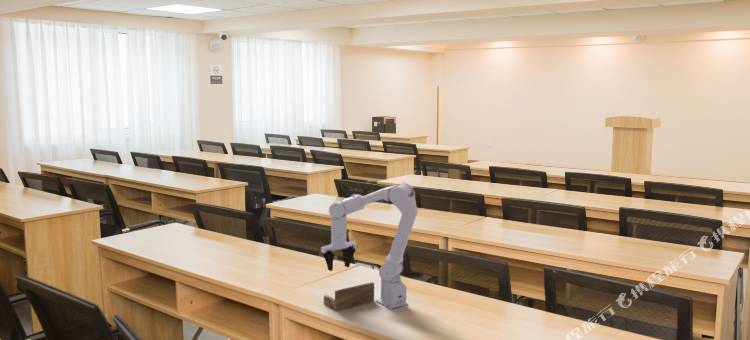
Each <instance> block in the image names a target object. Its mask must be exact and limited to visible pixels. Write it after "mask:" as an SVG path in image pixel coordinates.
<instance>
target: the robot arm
mask: <svg viewBox="0 0 750 340" xmlns="http://www.w3.org/2000/svg"><path fill="white" fill-rule="evenodd" d="M380 200H384V201H386V202H391V203H392V205H394V206H395V207H396V208H397V209H398V210H399V211H400V213H401V217H400V219H399V222H398V226H397V229H396V232H395V234H394V238H393V241H392V244H391V247H390V249H389V253H388V255H387V257H386V258H385V260H384V263H383V264H382V266H381V267H379V270H378V274H379V277H380V298H378V299H375V302H376V303H379V304H381V305H382V306H385V307H386V308H389V309H391V310H392V309H397V308H398V307H403V306H406V305H409V302H407V286H406V284H405V283H403V281H402V277H401V273H402V272H403V270H404V265H403V261H404V254H405V250H406V247H407V245H408V241H409V238H410V236H411V233H412V229H413V226H414V225H415V221H416V217H417V214H418V206H417V202H416V192H415V191H414V189H413V188H412V186H411V185H410V184H408V183H405V182H403V183H400V184H399V185H398V184H395V185H391V186H387V187H384V188H381V189H379V190H376V191H373V192H371V193H368V194H366V195H361V194H359V193H357V194H356V193H353V194H351V195H350V196H349V197H347V198H341V199H340V200H338V201H335V202H333V203H332V204H331V205H329V208H328V213H329V215H330V216H331V217H330V218H331V221H330V222H331V224H330V227H331V229H330V232H331V233H330V238H331V239H330V244H328V245H324V246H321V247H320V252H321V254H322V256H323V258H324V260H325V264H326V266H327V271H330V272H333V271H334V270H333V268H334V267H333V266H334V258H335V254H334V253H333V252H335V251H340V250H343V255H344V256H343V257H344V258H343V259H344V262H343V263H344V267H346V268H349V267H350V266H351V263H352V258H353V257H354V254H355V252H356V248H357V242H356V241H355V240H354V241H347V236H348V235H347V229H348V227H347V224H348V223H347V222H348V221H347V215H350V214H353V213H357V212H359V211H362V210H364V209H365V206H366V205H368V204H371V203H374V202H378V201H380Z"/></svg>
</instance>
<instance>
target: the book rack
mask: <svg viewBox="0 0 750 340" xmlns="http://www.w3.org/2000/svg"><path fill="white" fill-rule="evenodd" d="M374 301H375V282H373V281H371V282H367V283H364V284H359V285H354V286H350V287H345V288H342V289H337V290H334V298H333V297H331V296H329V295H327V294H324V295H323V304H324V305H326V306H328V307H329V308H331V309H333V310H335V312H336V311H341V310H344V309H349V308H353V307H357V306H361V305H364V304H368V303H373V302H374Z"/></svg>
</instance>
